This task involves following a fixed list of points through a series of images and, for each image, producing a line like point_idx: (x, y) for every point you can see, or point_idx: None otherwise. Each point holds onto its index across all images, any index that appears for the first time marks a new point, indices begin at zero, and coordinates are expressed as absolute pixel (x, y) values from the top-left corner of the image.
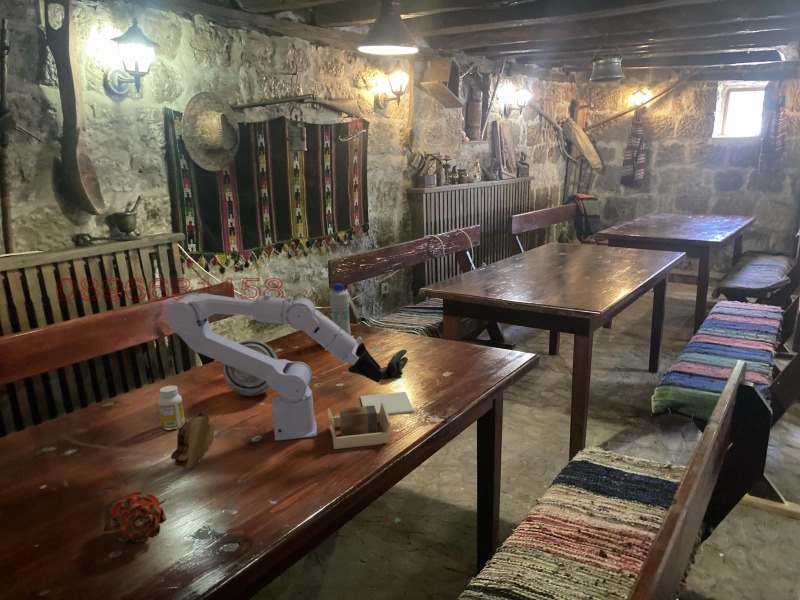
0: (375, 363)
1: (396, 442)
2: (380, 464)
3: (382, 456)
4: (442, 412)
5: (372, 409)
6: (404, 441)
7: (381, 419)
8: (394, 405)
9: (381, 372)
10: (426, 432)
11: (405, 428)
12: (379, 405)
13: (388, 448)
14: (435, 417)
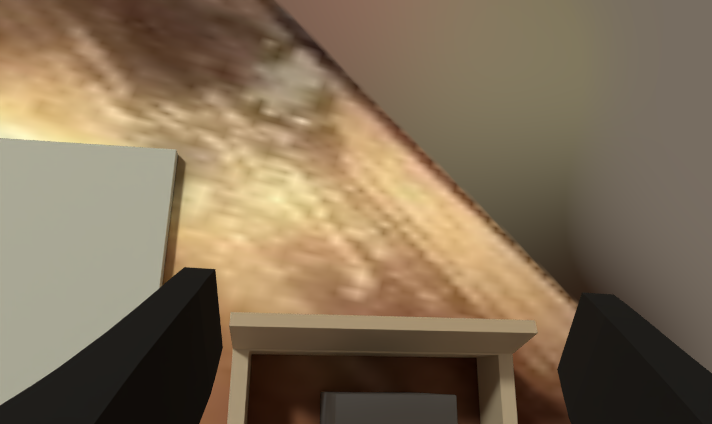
0: (182, 330)
1: (485, 307)
2: None
3: None
4: (228, 33)
5: (401, 416)
6: (482, 269)
7: (336, 352)
8: (68, 233)
9: (635, 315)
10: (414, 155)
11: (351, 236)
12: (28, 320)
13: (537, 356)
14: (272, 77)
